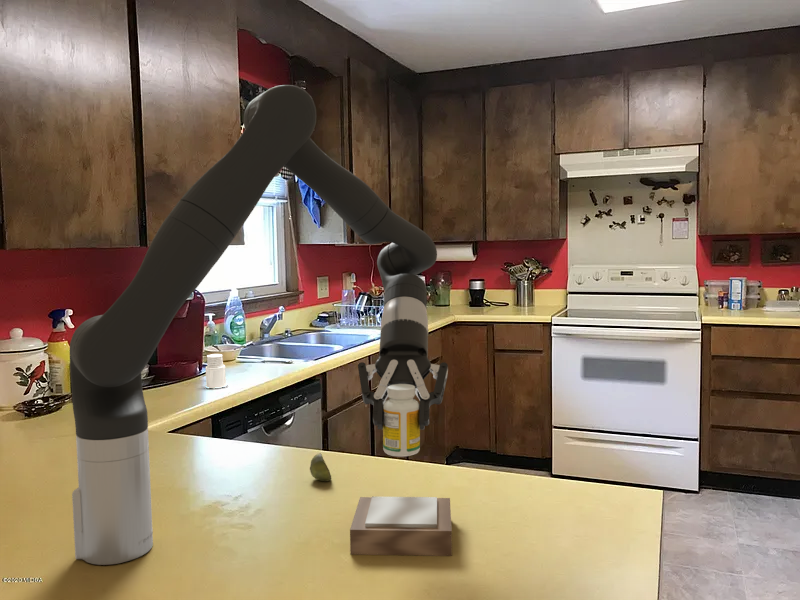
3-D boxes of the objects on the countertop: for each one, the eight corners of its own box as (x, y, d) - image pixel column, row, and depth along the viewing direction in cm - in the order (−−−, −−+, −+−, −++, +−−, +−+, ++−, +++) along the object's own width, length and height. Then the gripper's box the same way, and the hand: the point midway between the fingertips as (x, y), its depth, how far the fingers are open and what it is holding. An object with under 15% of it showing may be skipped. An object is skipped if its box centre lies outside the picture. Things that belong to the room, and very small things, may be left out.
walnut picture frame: (350, 554, 92) (349, 526, 92) (360, 518, 104) (359, 493, 103) (451, 555, 91) (451, 527, 91) (450, 519, 103) (449, 494, 103)
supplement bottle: (384, 458, 94) (383, 391, 93) (382, 446, 99) (381, 383, 98) (422, 456, 94) (421, 390, 93) (417, 445, 100) (417, 382, 99)
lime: (320, 474, 124) (319, 448, 124) (340, 479, 122) (339, 452, 121) (303, 481, 121) (303, 454, 120) (323, 486, 118) (323, 459, 118)
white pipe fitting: (211, 383, 209) (209, 352, 208) (232, 384, 208) (230, 352, 207) (200, 390, 201) (198, 358, 200) (222, 390, 200) (220, 358, 199)
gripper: (356, 317, 103) (348, 413, 92) (449, 317, 102) (451, 413, 91) (361, 346, 109) (353, 439, 98) (449, 346, 108) (451, 440, 97)
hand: (401, 426), depth 94 cm, fingers closed on supplement bottle, 5 cm apart
